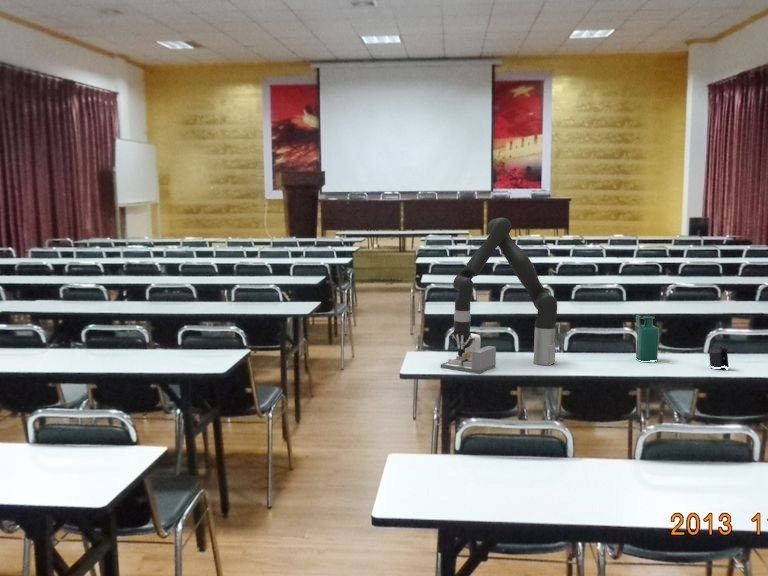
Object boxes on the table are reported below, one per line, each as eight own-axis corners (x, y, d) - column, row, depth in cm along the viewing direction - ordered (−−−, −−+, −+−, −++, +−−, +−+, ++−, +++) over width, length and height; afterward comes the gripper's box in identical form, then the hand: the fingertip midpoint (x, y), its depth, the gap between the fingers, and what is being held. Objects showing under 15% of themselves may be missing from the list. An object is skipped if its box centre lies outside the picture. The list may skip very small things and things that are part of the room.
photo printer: (478, 357, 348) (479, 332, 346) (481, 359, 344) (481, 334, 342) (458, 357, 346) (458, 333, 345) (460, 359, 342) (460, 334, 341)
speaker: (726, 367, 330) (725, 345, 329) (728, 370, 325) (728, 348, 323) (708, 367, 332) (708, 346, 331) (710, 371, 327) (710, 349, 325)
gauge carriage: (477, 363, 327) (477, 352, 326) (466, 367, 318) (467, 356, 318) (467, 361, 330) (468, 351, 329) (456, 366, 321) (457, 355, 320)
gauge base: (495, 367, 328) (496, 346, 326) (479, 373, 314) (480, 352, 313) (457, 361, 339) (457, 341, 338) (440, 367, 326) (441, 347, 324)
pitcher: (652, 358, 348) (654, 314, 346) (658, 362, 340) (661, 317, 337) (632, 358, 348) (634, 314, 346) (638, 362, 340) (640, 317, 337)
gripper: (478, 320, 325) (477, 357, 328) (453, 317, 333) (452, 353, 335) (471, 322, 319) (470, 360, 321) (445, 319, 327) (444, 356, 329)
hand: (461, 356), depth 328 cm, fingers closed
